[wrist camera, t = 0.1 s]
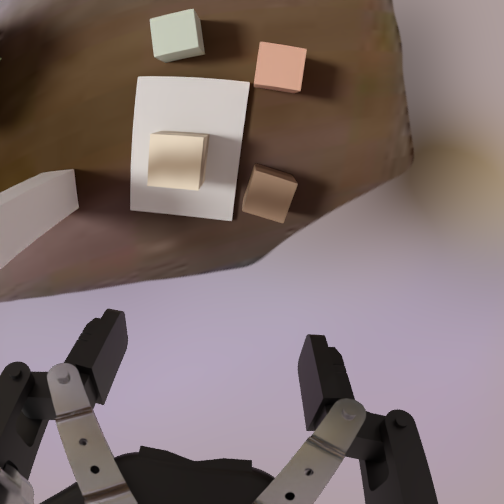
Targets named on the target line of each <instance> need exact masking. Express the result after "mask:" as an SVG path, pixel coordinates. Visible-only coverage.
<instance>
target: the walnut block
mask: <svg viewBox="0 0 504 504" xmlns="http://www.w3.org/2000/svg"><path fill="white" fill-rule="evenodd" d="M297 185H298V183H297V182H296V180H295V179H294V177H293V175H291V174H288V173H285V172H281V171H278V170H275V169H272V168H269V167H266V166H263V165H260V164H256V163H255V164H254V167H253V170H252V173H251V176H250V179H249V182H248V186H247V189H246V192H245V195H244V198H243V207H242V211H244V212H247V213H250V214H254V215H257V216H260V217H264V218H267V219H270V220H274V221H277V222H280V223H284V220H285V217H286V215H287V212H288V209H289V207H290V204H291V201H292V199H293V196H294V193H295V191H296V188H297Z"/></svg>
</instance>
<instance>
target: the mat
mask: <svg viewBox="0 0 504 504" xmlns="http://www.w3.org/2000/svg"><path fill="white" fill-rule="evenodd" d="M249 86H250V82H242V81H233V80H222V79H209V78H193V77H159V76H147V77H138V82H137V90H136V100H135V110H134V122H133V137H132V155H131V187H130V210H134V211H144V212H154V213H164V214H173V215H183V216H192V217H201V218H209V219H218V220H226V221H232V216H233V207H234V199H235V191H236V183H237V175H238V167H239V159H240V151H241V144H242V136H243V129H244V122H245V114H246V107H247V100H248V93H249ZM159 131H178V132H192V133H204V134H210V135H209V144H208V153H207V163H206V173H205V181H204V183H203V184H202V186H201V187H200V189H199V191H196V190H187V189H176V188H166V187H154V186H147V182H148V160H149V144H150V134H152V133H155V132H159Z"/></svg>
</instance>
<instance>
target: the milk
mask: <svg viewBox="0 0 504 504" xmlns="http://www.w3.org/2000/svg"><path fill="white" fill-rule="evenodd" d="M78 208H79V205H78V198H77V190H76V182H75V173H74V169H69V170H60V171H52V172H44V173H42V174H39V175H37V176H35V177H32V178H30V179H28V180H26V181H24V182H22V183H19V184H17V185H15V186H13V187H11V188H9V189H7V190H5V191H3V192H1V193H0V269H1V268H2V267H4V266H5V265H6V264H7V263H8V262H9V261H11V260H12V259H13V258H14V257H15V256H17V255H18V254H19V253H20V252H21V251H23V250H24V249H25V248H26V247H28V246H29V245H30V244H31V243H33V242H34V241H35V240H36V239H38V238H39V237H40V236H41V235H43V234H44V233H45V232H47V231H48V230H49V229H51V228H52V227H53V226H55V225H56V224H57V223H59V222H60V221H61V220H63V219H64V218H66V217H67V216H68V215H70V214H71V213H73V212H74V211H75V210H77V209H78Z"/></svg>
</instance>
